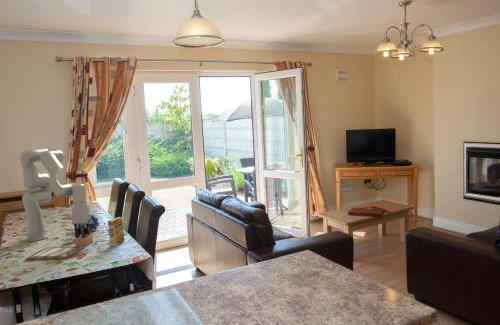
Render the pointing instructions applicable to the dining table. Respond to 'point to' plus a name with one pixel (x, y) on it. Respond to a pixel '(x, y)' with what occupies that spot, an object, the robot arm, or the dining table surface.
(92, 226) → the grapes
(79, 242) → the pen cup
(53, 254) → the clipboard
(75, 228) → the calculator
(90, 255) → the dining table surface
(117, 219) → the candy box
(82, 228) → the marker
